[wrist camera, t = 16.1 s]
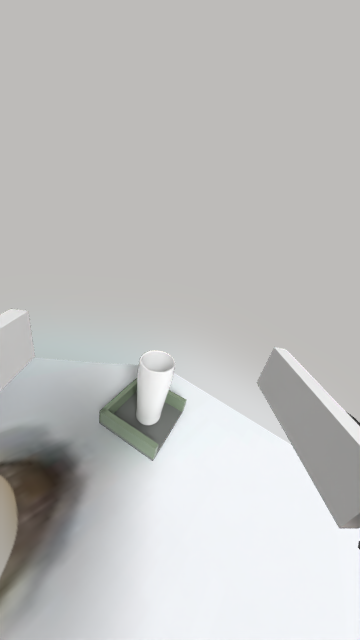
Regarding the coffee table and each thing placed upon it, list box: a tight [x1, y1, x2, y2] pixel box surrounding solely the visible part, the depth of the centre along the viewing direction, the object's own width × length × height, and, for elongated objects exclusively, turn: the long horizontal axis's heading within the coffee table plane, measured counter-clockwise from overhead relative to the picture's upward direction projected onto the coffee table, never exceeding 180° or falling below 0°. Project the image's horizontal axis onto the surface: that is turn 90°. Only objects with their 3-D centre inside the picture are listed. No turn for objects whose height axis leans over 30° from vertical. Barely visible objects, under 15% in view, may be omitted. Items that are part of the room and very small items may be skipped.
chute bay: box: [99, 378, 186, 461], centre depth 41 cm, size 13×13×4 cm
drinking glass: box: [136, 350, 175, 425], centre depth 39 cm, size 7×7×15 cm
